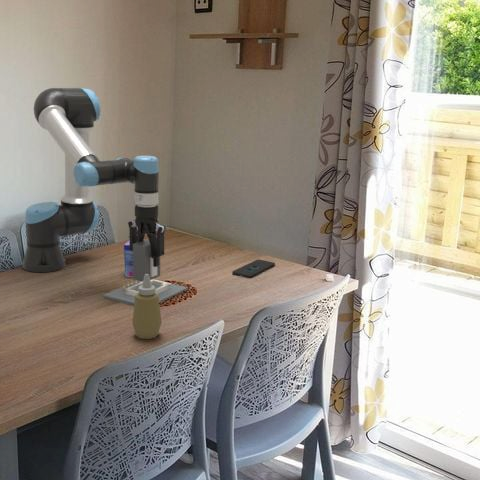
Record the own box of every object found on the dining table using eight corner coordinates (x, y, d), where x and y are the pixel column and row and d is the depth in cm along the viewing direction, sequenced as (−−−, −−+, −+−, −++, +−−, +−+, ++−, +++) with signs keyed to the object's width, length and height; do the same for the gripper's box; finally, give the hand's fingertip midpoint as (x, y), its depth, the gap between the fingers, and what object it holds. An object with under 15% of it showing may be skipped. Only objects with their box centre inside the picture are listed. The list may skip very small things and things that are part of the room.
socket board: (103, 297, 207) (103, 290, 206) (145, 280, 226) (145, 273, 225) (148, 309, 198) (148, 302, 198) (187, 290, 217) (188, 283, 216)
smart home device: (231, 271, 235) (257, 258, 252) (231, 275, 236) (257, 262, 252) (250, 275, 231) (276, 262, 248) (250, 280, 232) (275, 266, 248)
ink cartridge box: (131, 269, 238) (130, 231, 234) (145, 269, 237) (145, 232, 233) (123, 277, 228) (123, 238, 224) (138, 278, 228) (138, 239, 224)
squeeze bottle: (133, 329, 183) (132, 270, 178) (161, 329, 184) (162, 270, 179) (131, 341, 175) (130, 279, 170) (161, 341, 176) (161, 279, 171)
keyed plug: (133, 279, 208) (132, 243, 205) (150, 272, 216) (150, 238, 213) (145, 282, 206) (145, 246, 203) (162, 275, 214) (162, 240, 211)
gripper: (116, 203, 205) (118, 272, 211) (162, 210, 197) (162, 282, 203) (131, 199, 212) (132, 266, 218) (176, 206, 203) (175, 276, 209)
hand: (146, 274), depth 210 cm, fingers closed on keyed plug, 5 cm apart
